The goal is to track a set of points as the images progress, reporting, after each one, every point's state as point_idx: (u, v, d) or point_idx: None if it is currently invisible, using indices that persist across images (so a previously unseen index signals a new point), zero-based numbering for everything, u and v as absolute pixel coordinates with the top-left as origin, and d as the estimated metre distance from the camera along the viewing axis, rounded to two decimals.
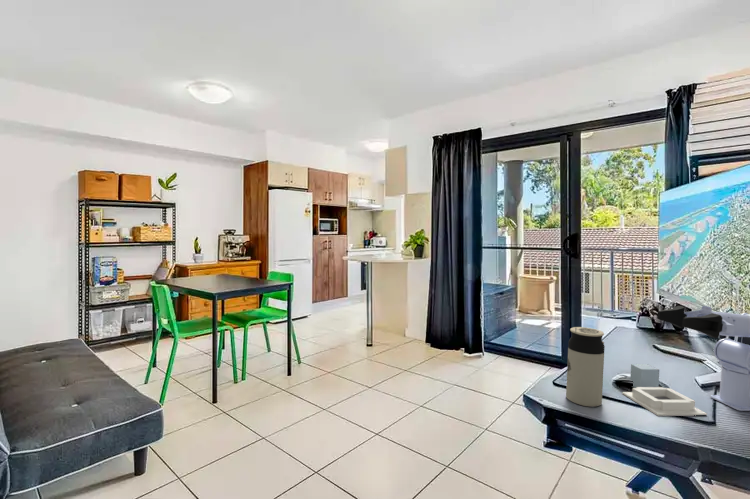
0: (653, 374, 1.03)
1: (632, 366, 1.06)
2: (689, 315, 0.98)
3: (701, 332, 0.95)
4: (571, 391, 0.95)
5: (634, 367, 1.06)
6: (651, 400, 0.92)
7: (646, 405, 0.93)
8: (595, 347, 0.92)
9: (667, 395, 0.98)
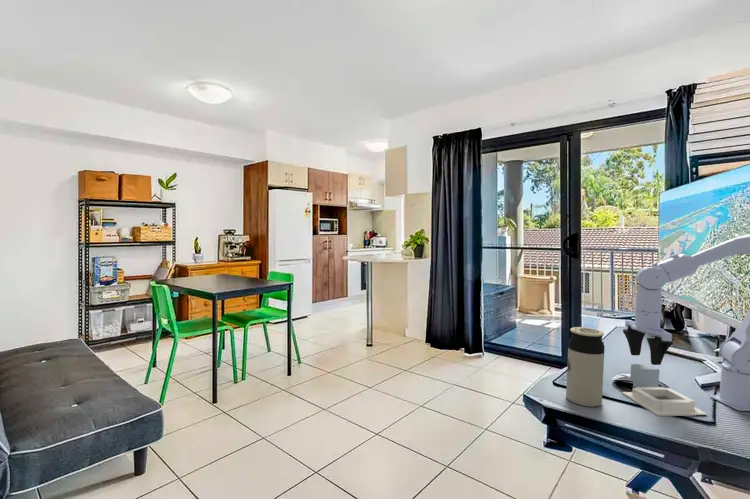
0: (653, 374, 1.03)
1: (632, 366, 1.06)
2: None
3: None
4: (571, 391, 0.95)
5: (634, 367, 1.06)
6: (651, 400, 0.92)
7: (646, 405, 0.93)
8: (595, 347, 0.92)
9: (667, 395, 0.98)
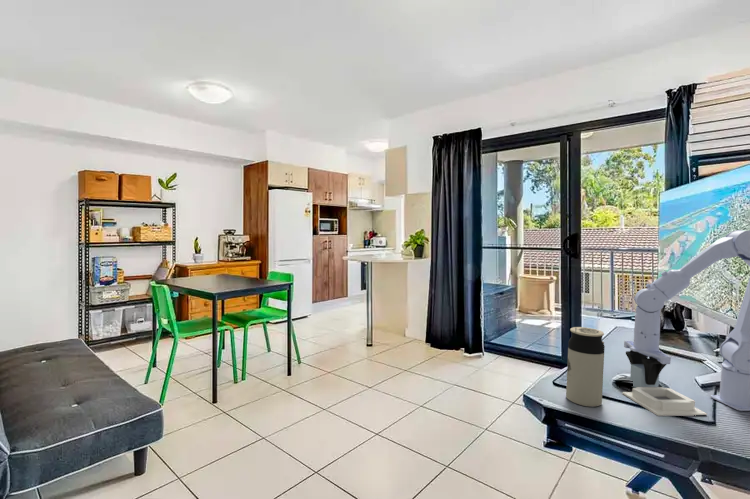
0: None
1: (632, 366, 1.06)
2: None
3: None
4: (571, 391, 0.95)
5: (634, 367, 1.06)
6: (651, 400, 0.92)
7: (646, 405, 0.93)
8: (595, 347, 0.92)
9: (667, 395, 0.98)
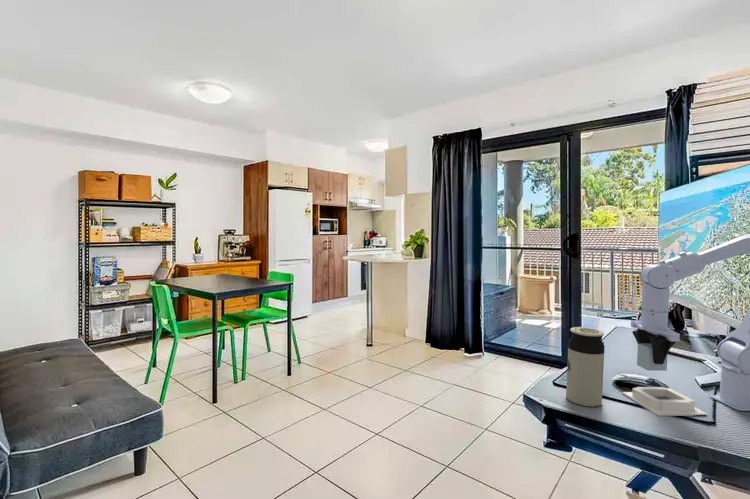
0: None
1: (639, 345, 1.02)
2: None
3: None
4: (571, 391, 0.95)
5: (641, 346, 1.02)
6: (651, 400, 0.92)
7: (646, 405, 0.93)
8: (595, 347, 0.92)
9: (667, 395, 0.98)
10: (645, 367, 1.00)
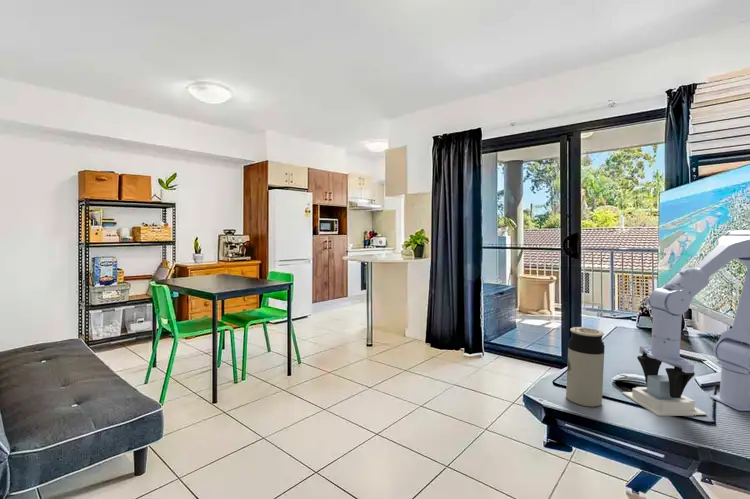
0: None
1: (649, 377, 0.96)
2: None
3: None
4: (571, 391, 0.95)
5: (651, 379, 0.95)
6: (651, 400, 0.92)
7: (646, 405, 0.93)
8: (595, 347, 0.92)
9: None
10: None
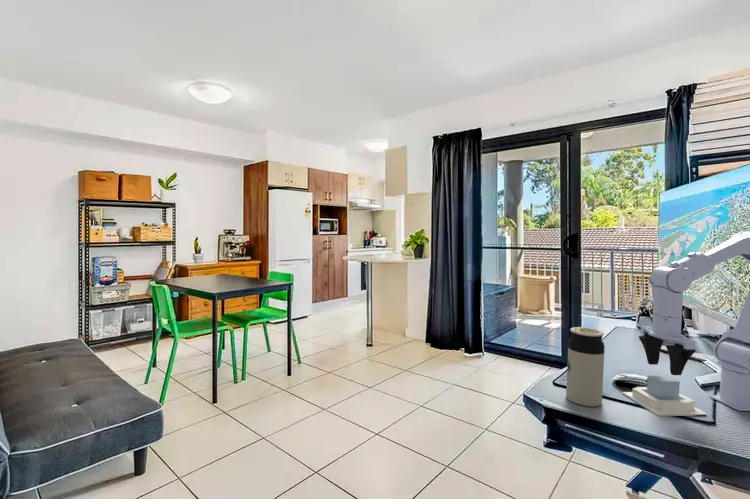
0: (672, 386, 0.93)
1: (649, 377, 0.96)
2: None
3: None
4: (571, 391, 0.95)
5: (651, 379, 0.95)
6: (651, 400, 0.92)
7: (646, 405, 0.93)
8: (595, 347, 0.92)
9: None
10: None
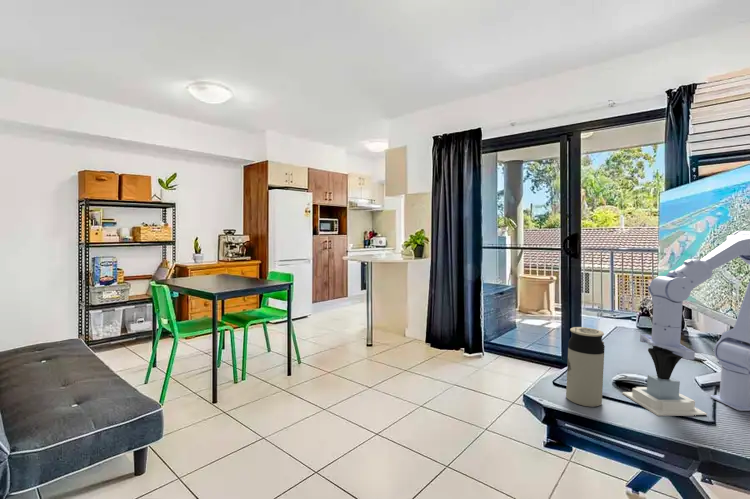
0: (672, 386, 0.93)
1: (649, 377, 0.96)
2: None
3: None
4: (571, 391, 0.95)
5: (651, 379, 0.95)
6: (651, 400, 0.92)
7: (646, 405, 0.93)
8: (595, 347, 0.92)
9: None
10: None
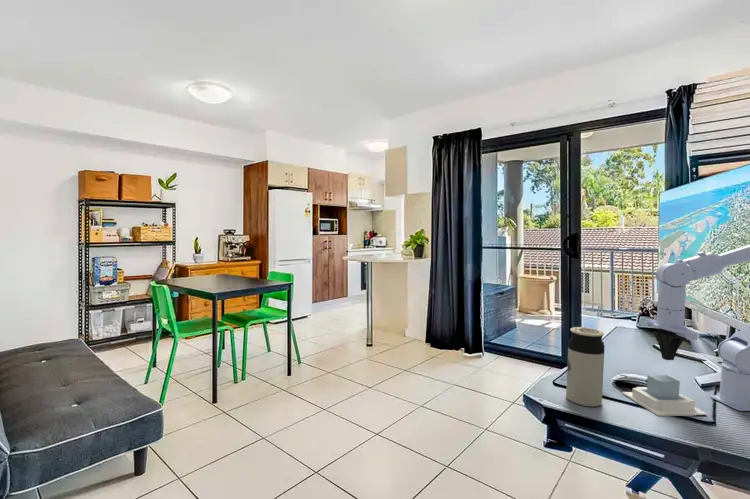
0: (672, 386, 0.93)
1: (649, 377, 0.96)
2: None
3: None
4: (571, 391, 0.95)
5: (651, 379, 0.95)
6: (651, 400, 0.92)
7: (646, 405, 0.93)
8: (595, 347, 0.92)
9: None
10: None
